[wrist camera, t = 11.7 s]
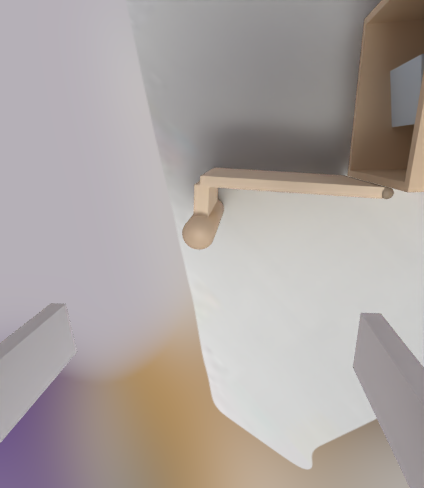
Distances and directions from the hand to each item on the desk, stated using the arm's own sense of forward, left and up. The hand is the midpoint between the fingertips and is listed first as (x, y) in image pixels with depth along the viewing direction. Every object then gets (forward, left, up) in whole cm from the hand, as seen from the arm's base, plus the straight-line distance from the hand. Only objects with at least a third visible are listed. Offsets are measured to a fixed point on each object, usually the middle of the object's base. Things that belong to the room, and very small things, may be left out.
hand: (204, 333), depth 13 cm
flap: (-4, -2, -21) cm, 22 cm away
